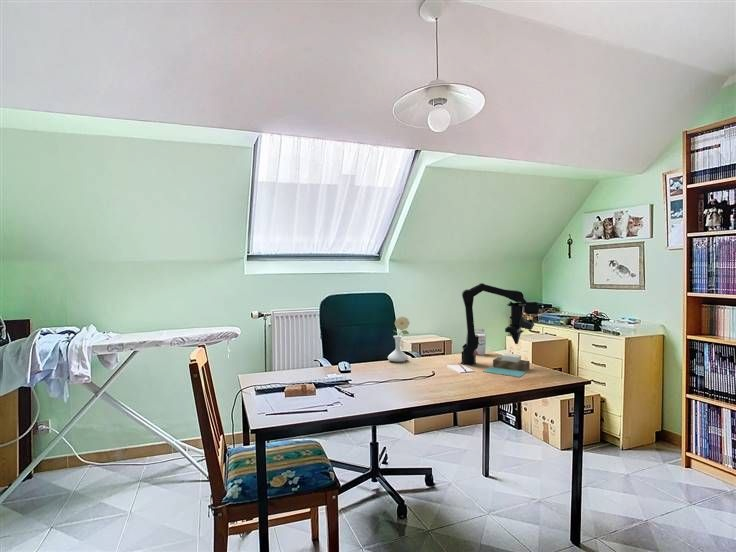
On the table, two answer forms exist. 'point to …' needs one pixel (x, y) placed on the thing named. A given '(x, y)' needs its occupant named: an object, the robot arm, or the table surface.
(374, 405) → the table surface
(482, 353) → the ink cartridge box
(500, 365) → the brown rectangular block
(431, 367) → the table surface
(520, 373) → the mat
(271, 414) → the table surface
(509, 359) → the tile
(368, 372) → the table surface
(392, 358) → the flower in vase
